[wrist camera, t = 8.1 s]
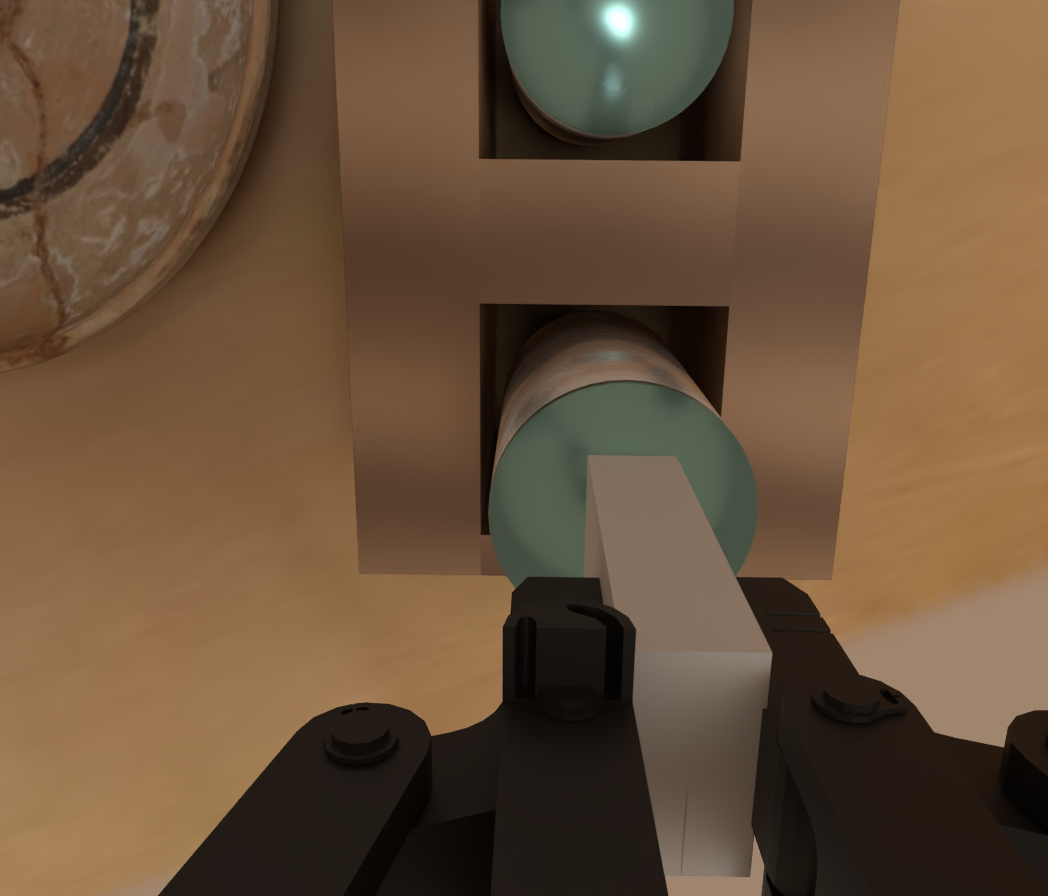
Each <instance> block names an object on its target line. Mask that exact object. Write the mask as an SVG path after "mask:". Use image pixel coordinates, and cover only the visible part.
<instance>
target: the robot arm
mask: <svg viewBox="0 0 1048 896" xmlns="http://www.w3.org/2000/svg"><path fill="white" fill-rule="evenodd" d="M754 835H755V838H756V841H757V844H758V847H759V850H760V853H761V856H762V859H763V862H764V865H765V866H764V876H763V886H762V895H761V896H1048V710H1043V711H1042V710H1041V711H1040V710H1038V711H1037V710H1036V711H1031V712H1028V713H1025V714H1022V715H1019V716H1016V717H1015V719H1014V720H1013V721H1012V723H1011V724H1010V725H1009V727H1008V730H1007V735H1006V741H1005V746H1004V747H998V746H994V745H988V744H984V743H979V742H973V741H968V740H964V739H958V738H954V737H950V736H946V735H942V734H938V733H934V732H933V730H932V729H931V727H930V726H929V725H928V723H927V722H926V720H925V719H924V718H923V716H922V715H921V713H920V712H919V711H918V709H917V708H916V706H915V705H914V704H913V703H912V702H911V701H910V700H909V699H908V698H906V697H905V696H904V695H903V694H902V693H901V692H900V691H897V690H896V689H894V688H892V687H890V686H888V685H886V684H884V683H883V682H881V681H878V680H875V679H872V678H868V677H865V676H862V675H859V674H858V672H857V670H856V669H855V667H854V666H853V664H852V663H851V661H850V659H849V658H848V656H847V655H846V653H845V652H844V650H843V649H842V647H841V645H840V644H839V642H838V641H837V639H836V638H835V636H834V635H833V634H831V633H830V628H829V627H828V625H827V624H826V622H825V621H824V619H823V618H820V613H819V611H818V610H817V608H816V606H815V605H814V603H813V602H812V600H811V599H810V597H809V596H808V594H806V593H805V592H803V591H802V590H800V589H799V588H797V587H796V586H794V585H793V584H791V583H790V582H788V581H787V580H785V579H783V578H776V577H735V575H734V573H733V571H732V569H731V567H730V565H729V563H728V561H727V559H726V557H725V555H724V553H723V551H722V549H721V547H720V545H719V543H718V541H717V539H716V537H715V535H714V532H713V530H712V528H711V526H710V524H709V522H708V520H707V518H706V516H705V514H704V512H703V510H702V508H701V506H700V504H699V502H698V500H697V498H696V496H695V494H694V492H693V490H692V488H691V486H690V483H689V481H688V479H687V477H686V475H685V473H684V471H683V469H682V467H681V465H680V463H679V461H678V459H677V457H676V456H621V455H587V486H586V518H585V550H584V577H527V578H526V579H525V580H524V581H523V582H522V583H521V584H520V585H519V586H518V587H517V588H516V589H515V590H514V591H513V592H512V600H511V614H510V615H509V616H508V618H507V620H506V622H505V624H504V626H503V702H502V703H501V705H500V706H499V707H498V709H497V710H496V711H495V712H494V713H493V714H491V715H490V716H489V717H487V718H486V719H485V720H483V721H481V722H479V723H477V724H475V725H472V726H470V727H468V728H465V729H461V730H457V731H454V732H450V733H445V734H440V735H435V736H431V734H430V732H429V730H428V727H427V725H426V723H425V721H424V720H422V719H421V718H420V717H418V716H417V715H416V714H414V713H413V712H412V711H410V710H407V709H404V708H401V707H397V706H394V705H391V704H381V703H355V704H353V705H352V704H350V705H346V706H341V707H337V708H335V709H332V710H330V711H327V712H325V713H323V714H320V715H318V716H316V717H314V718H313V719H311V720H310V721H309V722H308V723H306V724H305V725H304V726H303V727H301V728H300V729H299V730H298V731H297V732H296V733H295V734H294V735H293V737H292V738H291V739H290V740H289V741H288V743H287V744H286V745H285V746H284V747H283V748H282V750H281V751H280V752H279V753H278V754H277V756H276V757H275V758H274V759H273V760H272V761H271V763H270V764H269V765H268V766H267V767H266V769H265V770H264V771H263V772H262V773H261V774H260V776H259V777H258V778H257V779H256V780H255V782H254V783H253V784H252V785H251V786H250V787H249V789H248V790H247V791H246V792H245V793H244V795H243V796H242V797H241V798H240V799H239V800H238V802H237V803H236V804H235V805H234V806H233V808H232V809H231V810H230V811H229V812H228V813H227V815H226V816H225V817H224V818H223V819H222V821H221V822H220V823H219V824H218V825H217V826H216V828H215V829H214V830H213V831H212V832H211V834H210V835H209V836H208V837H207V838H206V839H205V841H204V842H203V843H202V844H201V845H200V847H199V848H198V849H197V850H196V851H195V852H194V854H193V855H192V856H191V857H190V858H189V860H188V861H187V862H186V863H185V864H184V865H183V867H182V868H181V869H180V870H179V871H178V873H177V874H176V875H175V876H174V877H173V878H172V880H171V881H170V882H169V883H168V884H167V886H166V887H165V888H164V889H163V890H162V891H161V893H160V894H159V895H158V896H668V892H667V887H666V880H665V875H669V876H670V875H671V876H723V877H726V876H727V877H750V872H751V862H752V852H753V841H754Z"/></svg>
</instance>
